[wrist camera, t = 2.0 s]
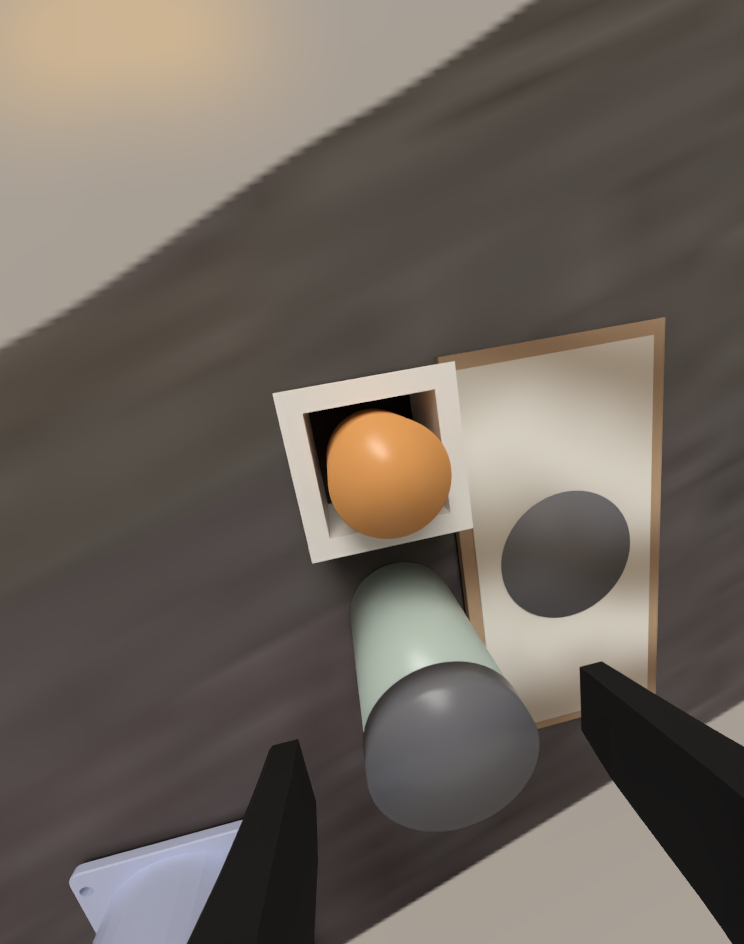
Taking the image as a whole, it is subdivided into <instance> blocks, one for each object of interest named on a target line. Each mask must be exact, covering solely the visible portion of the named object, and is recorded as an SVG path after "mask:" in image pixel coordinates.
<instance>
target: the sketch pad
mask: <svg viewBox="0 0 744 944" xmlns="http://www.w3.org/2000/svg"><path fill="white" fill-rule="evenodd" d="M664 345H665V317H664V318H658V319H653V320H647V321H641V322H636V323H630V324H624V325H619V326H613V327H607V328H602V329H596V330H590V331H585V332H579V333H573V334H568V335H562V336H556V337H551V338H545V339H539V340H534V341H528V342H522V343H517V344H511V345H505V346H500V347H494V348H488V349H483V350H477V351H471V352H466V353H460V354H454V355H449V356H443V357H438V358H434V361H435V364H441V363H446V362H452V361H455V368H456V377H457V386H458V395H459V404H460V413H461V422H462V431H463V440H464V449H465V458H466V467H467V476H468V485H469V494H470V503H471V512H472V521H473V528H471V529H467V530H462V531H458V532H456V538H457V546H458V554H459V562H460V570H461V578H462V586H463V594H464V602H465V610H466V616H467V618H468V619H469V621H470V623H471V624H472V626H473V627H474V629H475V631H476V632H477V634H478V635H479V637H480V639H481V640H482V642H483V643H484V645H485V647H486V648H487V650H488V651H489V653H490V655H491V656H492V658H493V659H494V661H495V663H496V664H497V666H498V667H499V669H500V671H501V672H502V674H503V675H504V677H505V679H507V680H508V681H509V683H510V684H511V685H512V686H513V688H514V689H515V691H516V692H517V694H518V696H519V697H520V699H521V700H522V702H523V704H524V705H525V707H526V708H527V710H528V711H529V713H530V715H531V716H532V718H533V720H534V722H535V724H536V727H537V729H539V728H543V727H547V726H550V725H554V724H558V723H561V722H565V721H569V720H572V719H576V718H580V717H581V699H580V669H579V667H581V666H585V665H589V664H593V663H597V662H601V661H602V662H604V663H605V664H607V665H609V666H610V667H612V668H614V669H615V670H617V671H619V672H620V673H622V674H624V675H625V676H627V677H628V678H630V679H632V680H633V681H635V682H636V683H638V684H640V685H641V686H643V687H644V688H646V689H648V690H649V691H651V692H653V693H654V694H655V693H656V654H657V616H658V577H659V538H660V500H661V461H662V422H663V383H664Z"/></svg>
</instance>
